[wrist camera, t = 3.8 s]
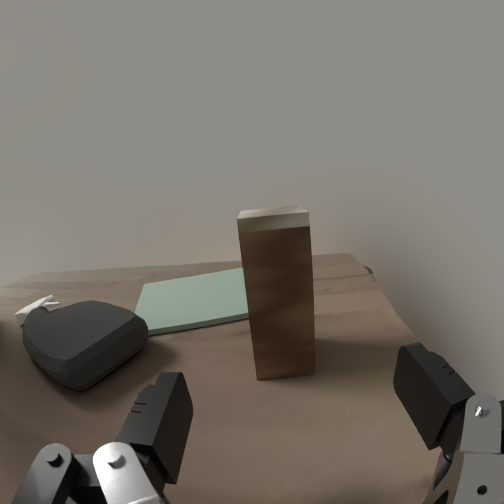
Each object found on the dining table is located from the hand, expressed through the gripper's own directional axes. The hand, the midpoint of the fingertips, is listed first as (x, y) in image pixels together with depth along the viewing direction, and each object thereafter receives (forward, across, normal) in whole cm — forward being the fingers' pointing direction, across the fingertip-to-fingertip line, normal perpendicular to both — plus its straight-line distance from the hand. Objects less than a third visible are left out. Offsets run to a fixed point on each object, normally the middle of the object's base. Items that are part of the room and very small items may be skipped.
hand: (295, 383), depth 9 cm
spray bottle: (+14, +24, +6) cm, 28 cm away
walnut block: (+10, 0, +6) cm, 12 cm away
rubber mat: (+25, +8, +6) cm, 27 cm away
